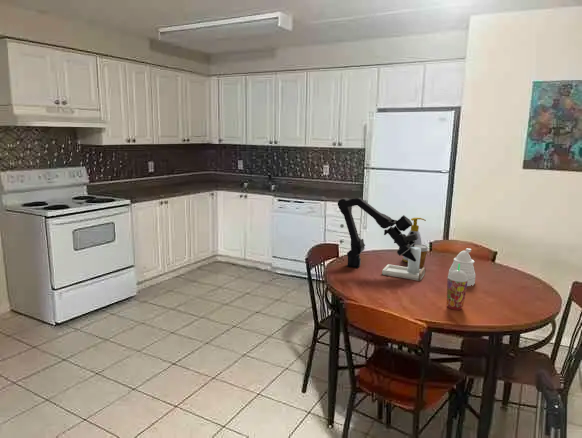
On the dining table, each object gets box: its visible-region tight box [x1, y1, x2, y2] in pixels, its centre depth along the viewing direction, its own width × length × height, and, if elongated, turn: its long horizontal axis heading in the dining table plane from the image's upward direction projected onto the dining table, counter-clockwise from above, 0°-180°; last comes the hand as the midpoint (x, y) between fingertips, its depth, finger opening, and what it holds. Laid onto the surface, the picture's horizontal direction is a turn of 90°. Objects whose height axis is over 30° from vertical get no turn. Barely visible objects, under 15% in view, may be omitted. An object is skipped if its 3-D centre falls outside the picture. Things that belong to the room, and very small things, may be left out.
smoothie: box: [446, 264, 468, 311], centre depth 184 cm, size 8×8×20 cm
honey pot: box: [448, 247, 476, 287], centre depth 218 cm, size 13×13×18 cm
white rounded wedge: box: [407, 247, 421, 274], centre depth 225 cm, size 6×6×13 cm
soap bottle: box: [402, 217, 426, 264], centre depth 251 cm, size 11×12×26 cm
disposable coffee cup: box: [415, 243, 429, 269], centre depth 243 cm, size 10×10×12 cm
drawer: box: [381, 263, 426, 282], centre depth 229 cm, size 20×12×4 cm, turn 63°
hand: (416, 259), depth 224 cm, fingers closed on white rounded wedge, 6 cm apart
